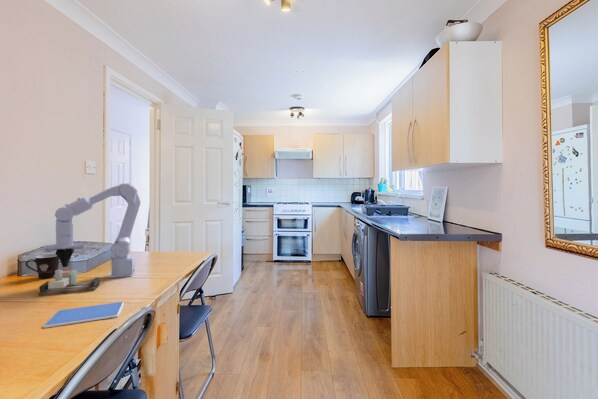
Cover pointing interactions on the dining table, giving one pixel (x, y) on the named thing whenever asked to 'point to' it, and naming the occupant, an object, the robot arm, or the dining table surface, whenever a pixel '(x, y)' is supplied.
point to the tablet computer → (84, 314)
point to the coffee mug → (45, 265)
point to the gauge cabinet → (70, 277)
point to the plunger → (66, 272)
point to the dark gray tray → (69, 288)
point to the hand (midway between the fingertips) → (65, 266)
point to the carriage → (58, 281)
